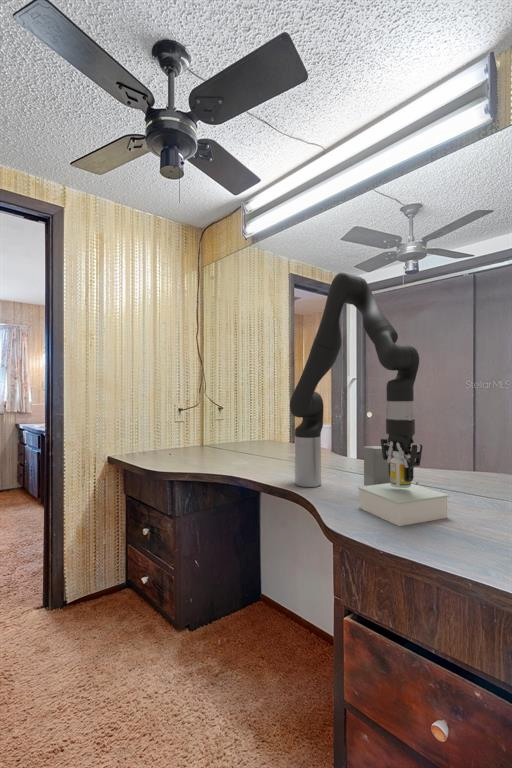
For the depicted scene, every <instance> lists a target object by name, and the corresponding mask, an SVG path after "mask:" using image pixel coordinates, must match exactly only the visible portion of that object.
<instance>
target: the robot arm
mask: <svg viewBox="0 0 512 768" xmlns="http://www.w3.org/2000/svg"><path fill="white" fill-rule="evenodd" d="M344 304H346V305H347V304H348V305H351V306H354V308H356V309H357V310H358V311H359V312H360V314H361V315H362V325H363V330H364V331H365V333H366V334H367V336H368V337H369V339H370V341H371V342H372V344H373V345H374V349H375V351H376V355H377V358H378V362H379V364H380V365H381V366H382V367H383V368H385V370H388V371H397V373H396V376H395V378H393V379H391V380H388V381H387V383H386V387H385V389H386V405H385V433H386V435H388V437H387V438H381V439H380V446H381V447H382V454H383V459H384V460H387V462H388V463H389V476H390V460H391V459H392V458H394V456H393V451H398V452H399V453H400V456H401V459H402V460H403V462H404V465H405V467H406V468H404V480H405V481H406V482H411V483H412V482H413V480H414V468H415V467H419V466H420V465H421V459H422V452H423V445H422V444H421V443H420V444H419V443H415V441H414V439H413V437H414V435H415V434H416V419H415V418H416V414H415V413H416V411H415V410H416V409H415V402H414V399H415V398H414V397H415V395H414V385H415V382H416V379H417V374H418V370H419V366H420V355H419V353H418V350H417V348H415V347H414V346H412V345H404V344H403V345H401V344H396V343H397V341H398V339H399V335H398V332H397V330H396V329H395V328H394V327H393V325H392V324H391V322H390V321H389V319H388V318H387V317H386V316H385V314H384V313H383V312H382V310H381V308H380V306H379V304H378V303H377V300H376V299H375V297H374V294H373V292H372V290H371V288H370V286H369V284H368V282H367V280H366V279H365V278H363V277H362V276H359V275H356V274H352V273H350V272H348V271H347V272H346V271H340V272H338V273H337V274H336V275H335V276H334V278H333V279H332V280H331V283H330V286H329V289H328V294H327V297H326V302H325V305H324V309H323V314H322V316H321V320H320V322H319V326H318V329H317V332H316V334H315V336H314V339H313V343H312V345H311V347H310V351H309V353H308V357H307V359H306V363H305V365H304V369H303V370H302V373H301V375H300V378H299V380H298V382H297V384H296V387H295V388H294V391H293V392H292V395H291V398H290V401H289V409H290V413H291V414H292V415H293V417H295V418H299V419H300V418H302V421H301V423H300V424H299V425H297V427H295V429H294V483H295V485H296V486H298V487H303V488H315V487H320V486H322V444H321V443H322V437H321V436H322V431H323V428H324V401H323V397H322V395H321V394H320V393H319V392H316V388H317V387H318V384H319V383H320V381H322V379H323V378H324V377H325V375H327V373H328V372H329V371H330V370H331V369H332V368H333V366H334V364H335V363H336V360H337V358H338V356H339V353H340V350H341V349H342V348H341V347H342V342H343V340H342V332H341V331H342V330H341V325H340V321H341V319H340V318H341V314H342V310H343V307H344V306H345V305H344ZM386 451H388V455H387V454H386ZM405 454H408V455H407V456H406V455H405ZM408 459H409V462H410V463H408ZM319 485H320V486H319Z"/></svg>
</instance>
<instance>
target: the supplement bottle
mask: <svg viewBox="0 0 512 768" xmlns="http://www.w3.org/2000/svg"><path fill="white" fill-rule="evenodd" d="M405 455H406V456H407V455H409V454H405ZM393 456H394V458H392V459H391V460H390V484H391V486H393V487H397V488H409V487H410V486H411V484H412V481H411V482H406V481H405V480H404V468H406V467H405V465H404V462H403V460H402V459H401V456H400V453H399V452H398V451H393ZM408 463H410V462H409V459H408Z"/></svg>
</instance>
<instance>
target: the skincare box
mask: <svg viewBox="0 0 512 768" xmlns="http://www.w3.org/2000/svg"><path fill="white" fill-rule="evenodd" d="M386 454H387V455H388V451H386ZM386 483H390V476H389V463H388V462H387V460H384V459H383V454H382V447H381V445H380V446H378V445H372V446H369V445H368V446H363V486H370V485H378V484H386Z"/></svg>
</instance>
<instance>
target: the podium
mask: <svg viewBox="0 0 512 768" xmlns="http://www.w3.org/2000/svg"><path fill="white" fill-rule="evenodd" d="M357 489H358V491H359V498H358V499H359V509H360V510H363V511H366V513H369V514H371V515H373V516H376V517H377V518H380V519H382V520H385V521H387V522H388V523H391V524H393V525H395V526H397V527H402V526H408V525H414V524H420V523H426V522H430V521H431V522H432V521H437V520H442V519H447V518H448V498H449V497H450V495H449V494H447V493H444V492H440V491H438V490H437V491H436V490H433V489H430V488H427V487H423V486H421V485H418V484H417V485H416V484H414V483H411V486H410V487H409V488H397V487H393V486H391V484H390V483H386V484H378V485H370V486H364V485H362V486H358V487H357Z"/></svg>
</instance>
